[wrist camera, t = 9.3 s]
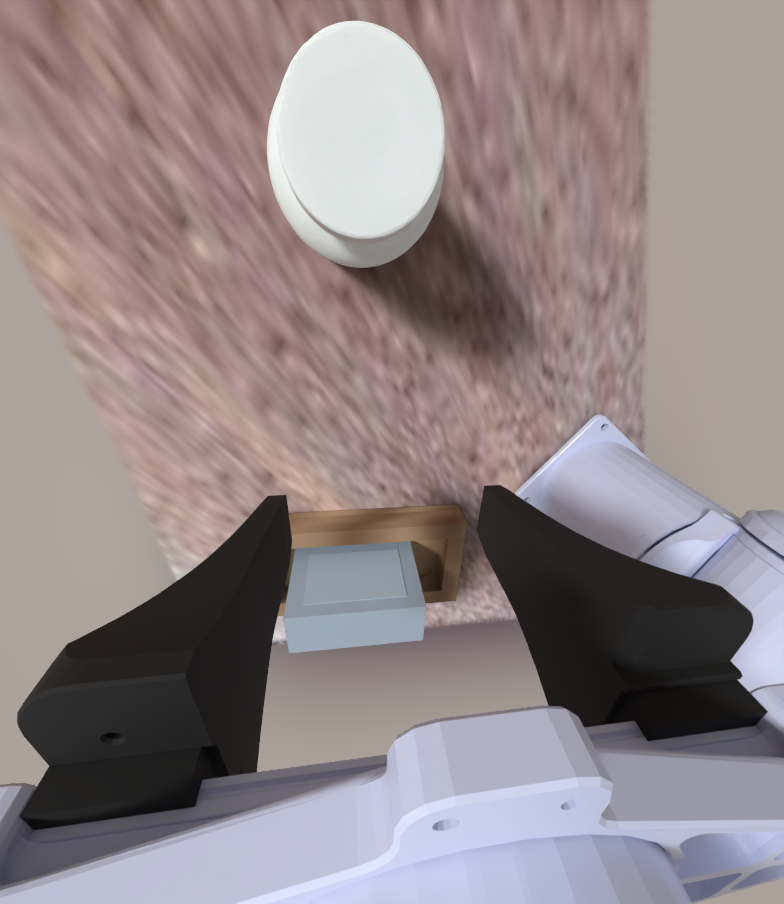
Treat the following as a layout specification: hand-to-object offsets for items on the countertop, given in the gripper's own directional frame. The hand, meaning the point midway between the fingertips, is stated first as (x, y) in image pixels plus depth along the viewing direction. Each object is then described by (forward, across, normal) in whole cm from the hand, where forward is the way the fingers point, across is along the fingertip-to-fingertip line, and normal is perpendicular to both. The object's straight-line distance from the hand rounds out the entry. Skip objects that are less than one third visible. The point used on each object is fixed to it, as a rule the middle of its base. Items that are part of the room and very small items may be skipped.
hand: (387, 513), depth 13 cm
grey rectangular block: (+9, +1, +11) cm, 14 cm away
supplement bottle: (+10, +1, -11) cm, 15 cm away
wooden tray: (+10, +1, +11) cm, 15 cm away
